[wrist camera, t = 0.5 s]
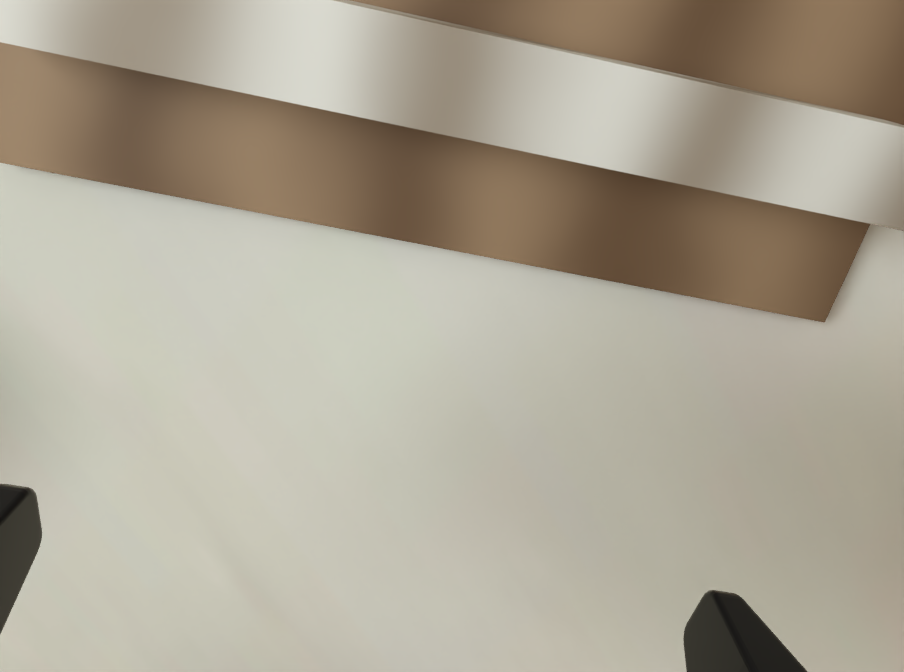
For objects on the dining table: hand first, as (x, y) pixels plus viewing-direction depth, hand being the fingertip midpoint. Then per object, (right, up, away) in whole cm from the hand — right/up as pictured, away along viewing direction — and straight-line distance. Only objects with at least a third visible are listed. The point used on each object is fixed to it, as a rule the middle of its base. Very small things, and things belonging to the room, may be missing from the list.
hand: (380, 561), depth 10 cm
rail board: (+1, +11, +11) cm, 15 cm away
